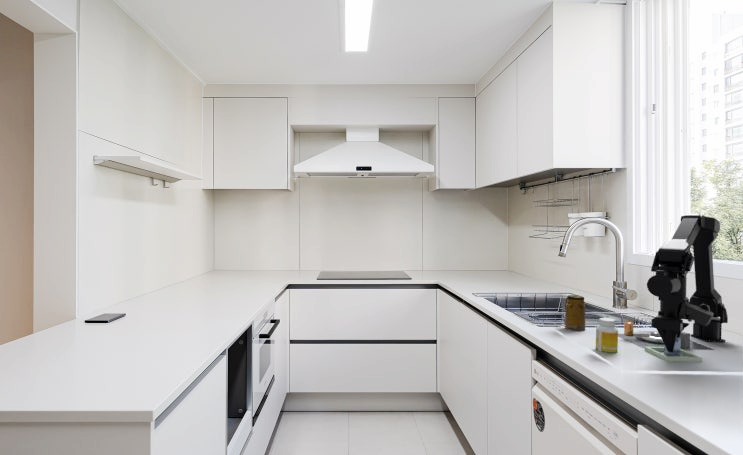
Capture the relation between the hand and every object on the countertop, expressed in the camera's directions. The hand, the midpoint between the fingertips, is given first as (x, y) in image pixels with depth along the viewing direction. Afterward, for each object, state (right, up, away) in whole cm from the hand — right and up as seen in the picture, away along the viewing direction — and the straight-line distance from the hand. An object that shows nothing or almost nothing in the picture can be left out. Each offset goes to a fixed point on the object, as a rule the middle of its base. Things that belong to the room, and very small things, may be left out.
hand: (672, 350), depth 112 cm
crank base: (+7, -2, +14) cm, 15 cm away
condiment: (-12, -2, +27) cm, 30 cm away
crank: (+5, -1, +16) cm, 17 cm away
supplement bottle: (-15, -2, +4) cm, 16 cm away
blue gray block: (0, -2, 0) cm, 2 cm away
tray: (0, -2, 0) cm, 2 cm away
